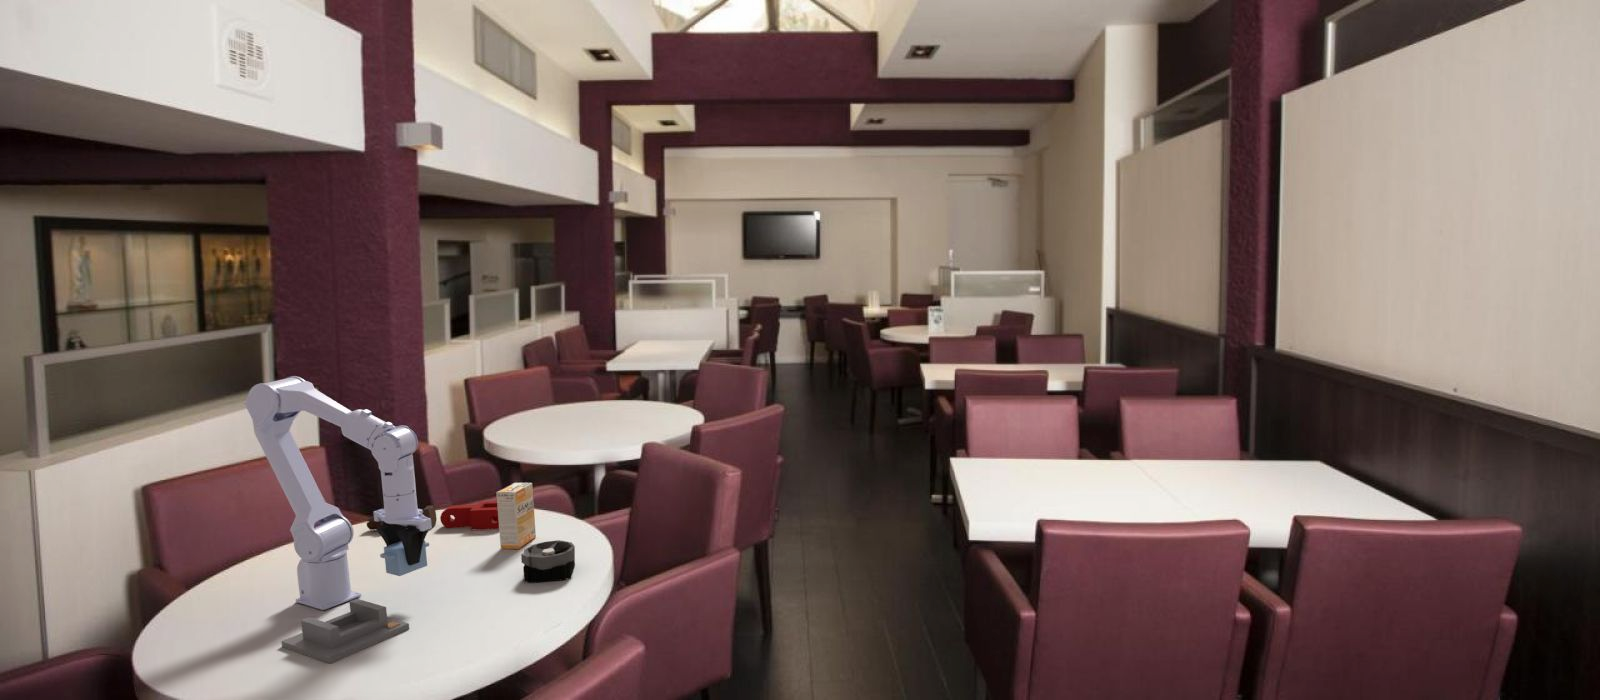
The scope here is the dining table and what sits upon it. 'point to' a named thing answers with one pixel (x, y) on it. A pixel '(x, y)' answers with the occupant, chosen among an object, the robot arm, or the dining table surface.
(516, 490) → the supplement box
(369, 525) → the bolt
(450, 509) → the mechanical linkage
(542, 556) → the cpu cooler
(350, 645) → the board
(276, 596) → the dining table surface
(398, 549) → the block
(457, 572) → the dining table surface
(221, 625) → the dining table surface
